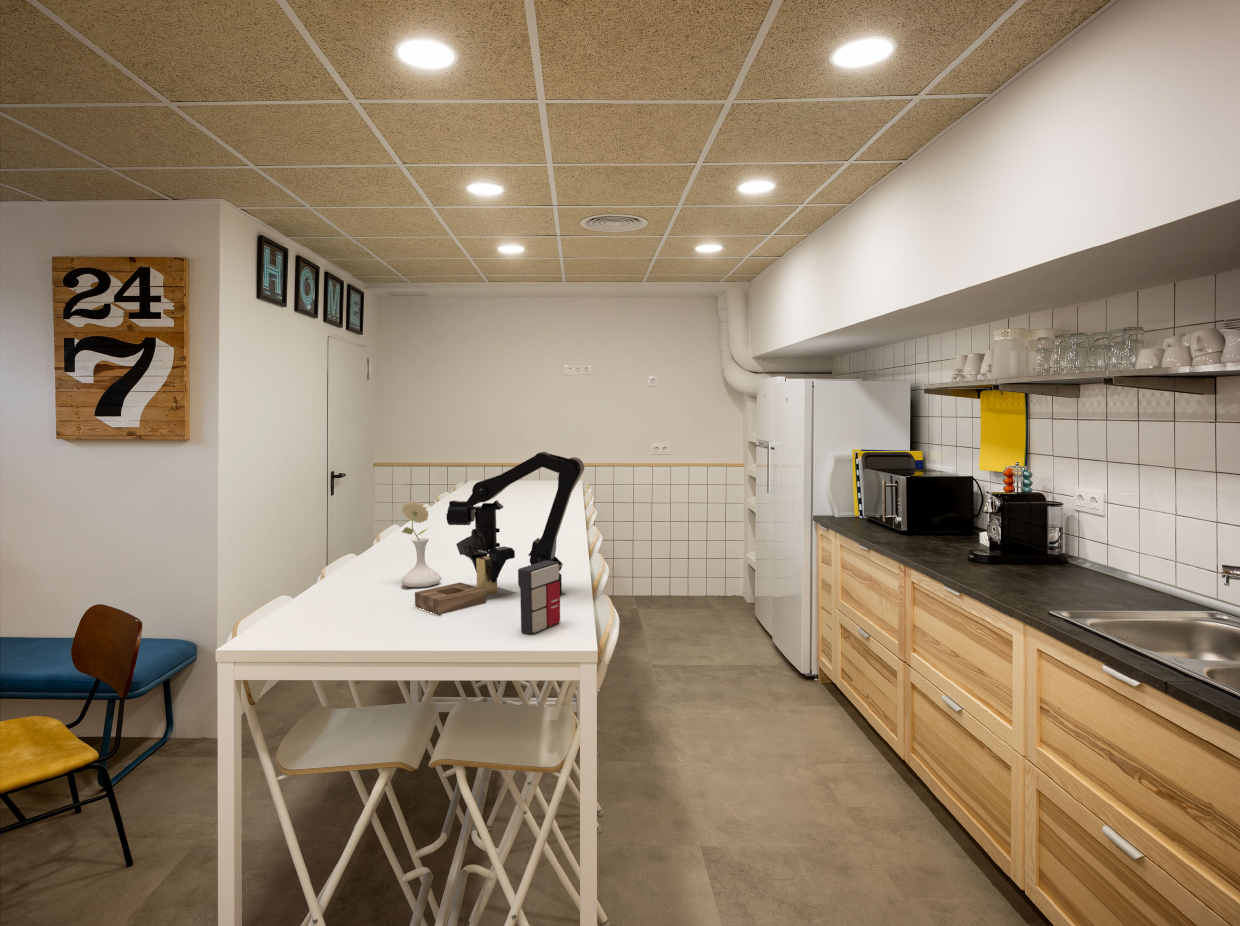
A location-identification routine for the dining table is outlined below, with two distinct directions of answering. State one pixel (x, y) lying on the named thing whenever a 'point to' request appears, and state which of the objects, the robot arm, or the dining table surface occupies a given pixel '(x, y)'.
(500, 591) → the rubber mat
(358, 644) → the dining table surface
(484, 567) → the light wooden block
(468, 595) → the hole block
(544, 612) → the grey and red case
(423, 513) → the flower in vase
